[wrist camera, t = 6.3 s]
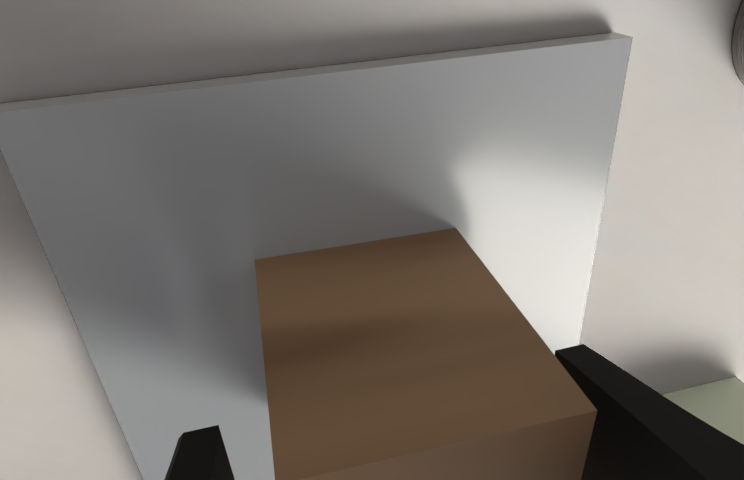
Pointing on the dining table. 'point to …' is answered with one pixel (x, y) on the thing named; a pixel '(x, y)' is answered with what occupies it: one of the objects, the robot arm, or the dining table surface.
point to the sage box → (715, 405)
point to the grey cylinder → (739, 44)
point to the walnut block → (411, 369)
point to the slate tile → (304, 207)
